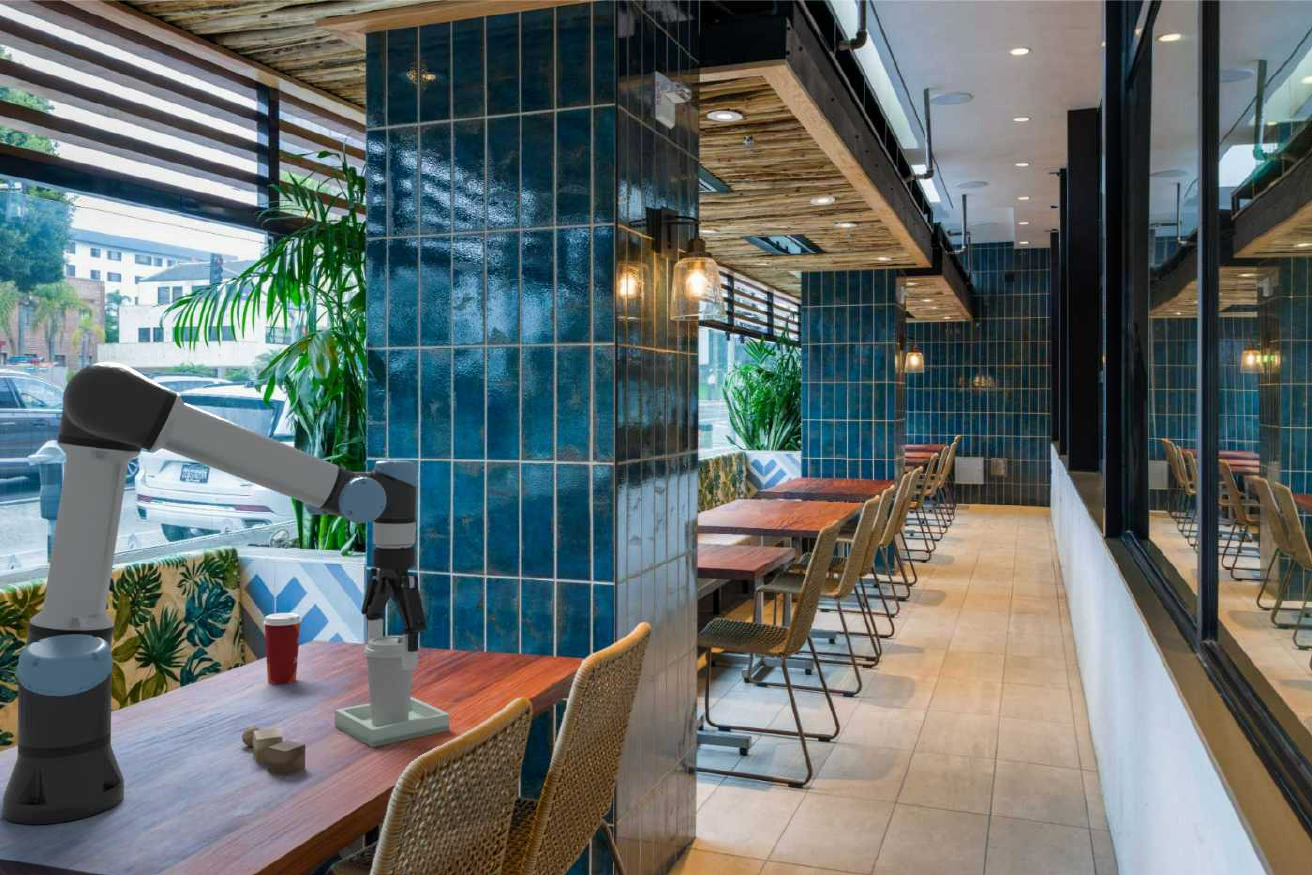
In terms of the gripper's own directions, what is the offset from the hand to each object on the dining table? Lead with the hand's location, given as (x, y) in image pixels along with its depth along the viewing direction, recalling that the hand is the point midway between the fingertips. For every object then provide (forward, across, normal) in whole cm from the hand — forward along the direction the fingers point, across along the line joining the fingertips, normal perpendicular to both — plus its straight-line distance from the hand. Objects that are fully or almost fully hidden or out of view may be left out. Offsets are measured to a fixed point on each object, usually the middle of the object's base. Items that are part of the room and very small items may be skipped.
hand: (391, 661), depth 182 cm
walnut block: (+12, -9, +23) cm, 27 cm away
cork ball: (+12, +6, +23) cm, 27 cm away
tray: (+12, 0, 0) cm, 12 cm away
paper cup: (+12, +44, +3) cm, 46 cm away
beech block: (+12, -1, +23) cm, 26 cm away
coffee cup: (+11, +1, 0) cm, 11 cm away
